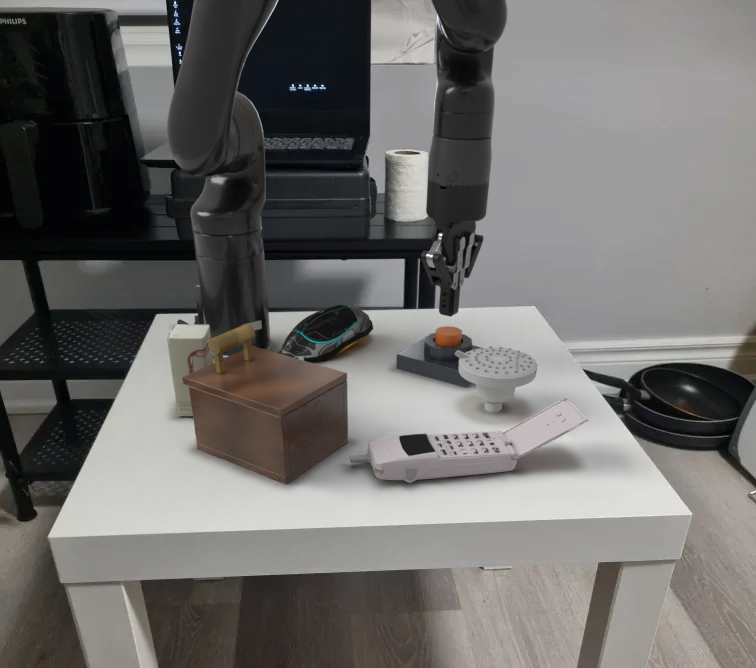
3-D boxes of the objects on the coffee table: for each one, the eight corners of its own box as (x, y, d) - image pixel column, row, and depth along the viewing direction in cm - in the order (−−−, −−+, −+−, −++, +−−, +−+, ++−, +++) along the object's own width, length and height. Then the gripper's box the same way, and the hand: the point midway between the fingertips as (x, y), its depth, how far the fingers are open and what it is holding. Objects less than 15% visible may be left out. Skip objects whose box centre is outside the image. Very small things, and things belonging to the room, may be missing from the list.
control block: (396, 368, 104) (396, 341, 102) (429, 348, 110) (430, 322, 108) (465, 388, 99) (467, 359, 97) (496, 366, 105) (499, 338, 103)
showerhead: (459, 336, 94) (539, 343, 93) (455, 389, 98) (532, 396, 97) (450, 365, 87) (537, 373, 85) (446, 421, 91) (529, 429, 89)
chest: (197, 449, 85) (188, 385, 80) (262, 413, 92) (257, 353, 88) (286, 484, 78) (281, 417, 74) (348, 442, 86) (347, 380, 82)
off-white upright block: (213, 417, 91) (202, 338, 86) (176, 417, 91) (164, 338, 85) (219, 399, 95) (210, 323, 90) (185, 399, 95) (173, 323, 90)
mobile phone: (592, 420, 78) (357, 438, 74) (583, 468, 82) (358, 489, 77) (569, 396, 83) (348, 412, 79) (561, 443, 87) (348, 461, 82)
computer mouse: (261, 353, 108) (257, 314, 105) (352, 327, 117) (351, 291, 114) (295, 372, 103) (293, 332, 99) (388, 343, 112) (388, 305, 109)
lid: (183, 384, 81) (176, 341, 78) (252, 352, 88) (248, 312, 86) (281, 417, 74) (278, 372, 72) (347, 379, 82) (346, 337, 79)
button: (430, 344, 102) (430, 331, 101) (443, 336, 105) (444, 324, 104) (453, 349, 100) (453, 337, 99) (465, 341, 103) (466, 329, 102)
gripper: (457, 165, 97) (447, 295, 107) (404, 180, 88) (398, 322, 98) (510, 172, 94) (494, 306, 104) (460, 189, 85) (448, 334, 94)
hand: (448, 313), depth 101 cm, fingers closed
